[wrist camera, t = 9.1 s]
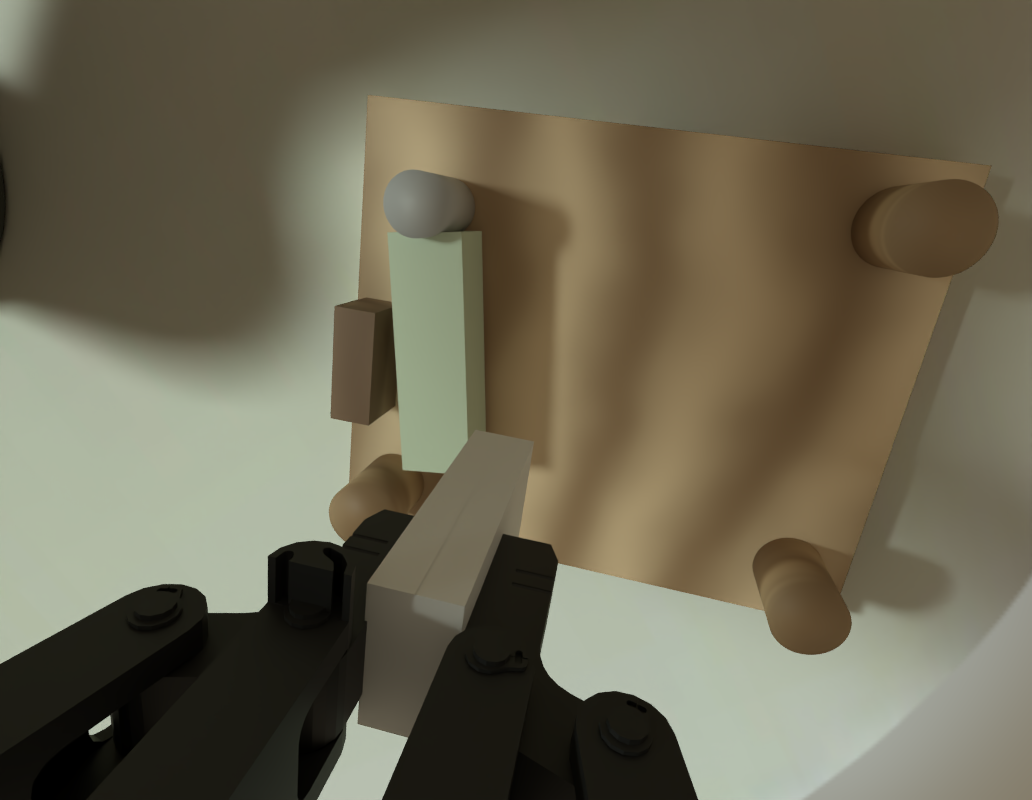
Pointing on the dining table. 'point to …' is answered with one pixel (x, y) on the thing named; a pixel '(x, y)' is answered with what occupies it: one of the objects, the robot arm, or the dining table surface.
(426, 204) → the rail
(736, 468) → the stool board
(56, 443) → the dining table surface
